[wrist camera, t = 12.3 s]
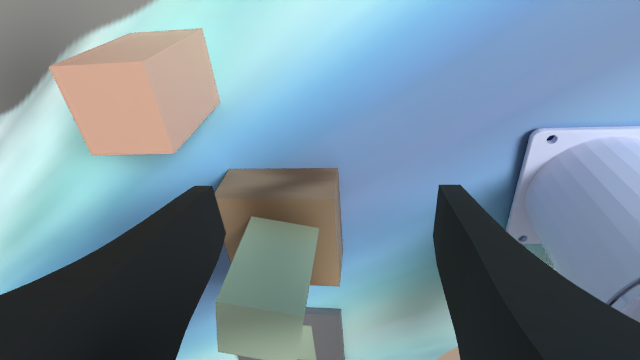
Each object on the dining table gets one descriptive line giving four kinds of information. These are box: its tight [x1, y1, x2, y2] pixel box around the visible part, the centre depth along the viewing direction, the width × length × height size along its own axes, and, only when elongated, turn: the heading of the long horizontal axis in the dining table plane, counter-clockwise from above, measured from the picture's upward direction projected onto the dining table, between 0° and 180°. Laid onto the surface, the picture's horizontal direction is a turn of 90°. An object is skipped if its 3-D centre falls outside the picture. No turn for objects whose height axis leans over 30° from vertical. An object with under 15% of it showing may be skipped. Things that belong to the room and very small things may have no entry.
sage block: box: [216, 216, 319, 360], centre depth 20 cm, size 4×4×6 cm
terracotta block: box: [49, 28, 220, 155], centre depth 18 cm, size 4×4×6 cm
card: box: [238, 308, 345, 360], centre depth 33 cm, size 10×8×1 cm
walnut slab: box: [214, 168, 343, 286], centre depth 24 cm, size 7×7×4 cm
